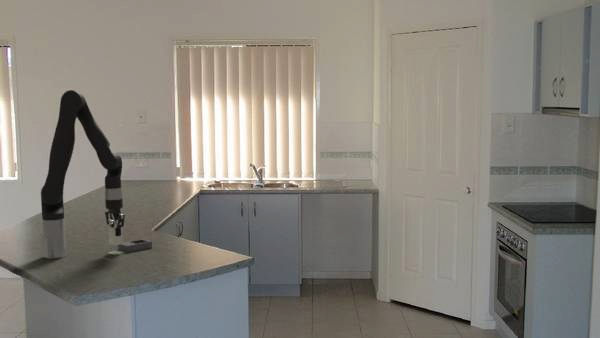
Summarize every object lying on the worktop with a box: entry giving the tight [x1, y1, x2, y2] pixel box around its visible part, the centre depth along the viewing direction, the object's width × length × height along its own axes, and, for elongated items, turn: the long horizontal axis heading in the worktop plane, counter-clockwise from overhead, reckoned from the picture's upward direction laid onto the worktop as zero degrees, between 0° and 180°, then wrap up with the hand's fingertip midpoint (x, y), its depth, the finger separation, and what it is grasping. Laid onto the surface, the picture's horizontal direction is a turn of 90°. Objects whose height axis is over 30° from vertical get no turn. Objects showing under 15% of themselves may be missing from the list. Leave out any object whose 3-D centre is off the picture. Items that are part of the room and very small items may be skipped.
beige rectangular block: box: [107, 226, 124, 246], centre depth 296 cm, size 4×4×8 cm
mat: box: [106, 249, 127, 256], centre depth 296 cm, size 6×6×1 cm
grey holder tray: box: [117, 238, 153, 253], centre depth 303 cm, size 13×8×4 cm, turn 134°
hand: (115, 235), depth 295 cm, fingers closed on beige rectangular block, 4 cm apart
